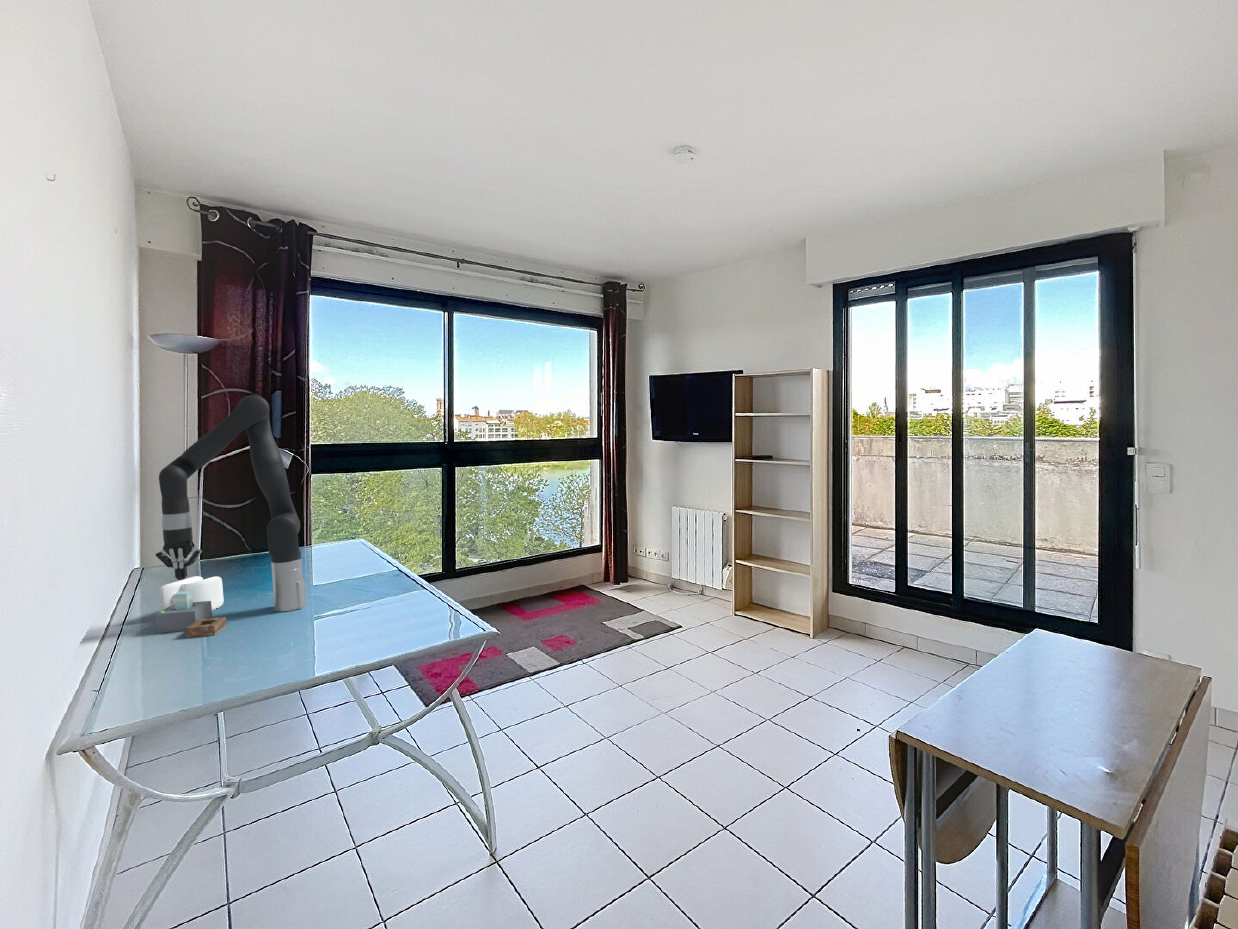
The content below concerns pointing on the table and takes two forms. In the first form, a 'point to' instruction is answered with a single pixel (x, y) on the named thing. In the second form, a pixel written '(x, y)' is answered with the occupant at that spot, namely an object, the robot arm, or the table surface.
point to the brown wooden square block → (205, 627)
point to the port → (182, 616)
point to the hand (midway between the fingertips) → (181, 579)
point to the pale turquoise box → (183, 600)
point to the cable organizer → (194, 591)
